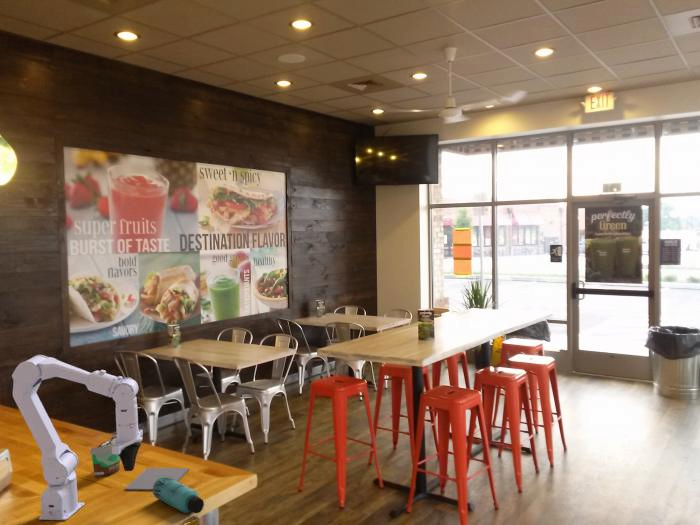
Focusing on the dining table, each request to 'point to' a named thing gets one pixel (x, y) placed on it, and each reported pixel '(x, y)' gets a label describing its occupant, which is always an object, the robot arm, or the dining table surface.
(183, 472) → the mat
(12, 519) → the dining table surface
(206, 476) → the dining table surface
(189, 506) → the beverage bottle
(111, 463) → the food container
